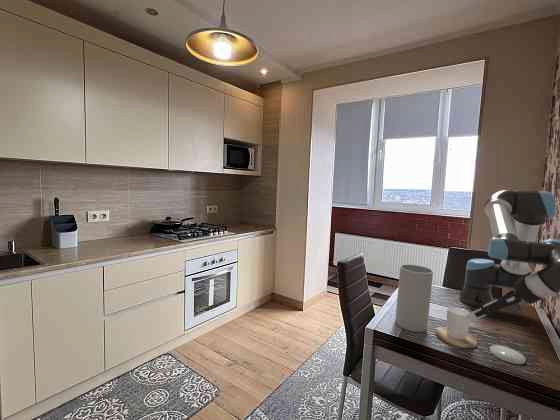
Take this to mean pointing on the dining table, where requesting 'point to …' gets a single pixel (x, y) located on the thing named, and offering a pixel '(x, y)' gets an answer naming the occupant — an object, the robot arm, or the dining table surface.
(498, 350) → the sage coaster
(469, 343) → the birch trivet
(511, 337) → the dining table surface
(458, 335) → the white cup
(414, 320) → the cylinder vase
